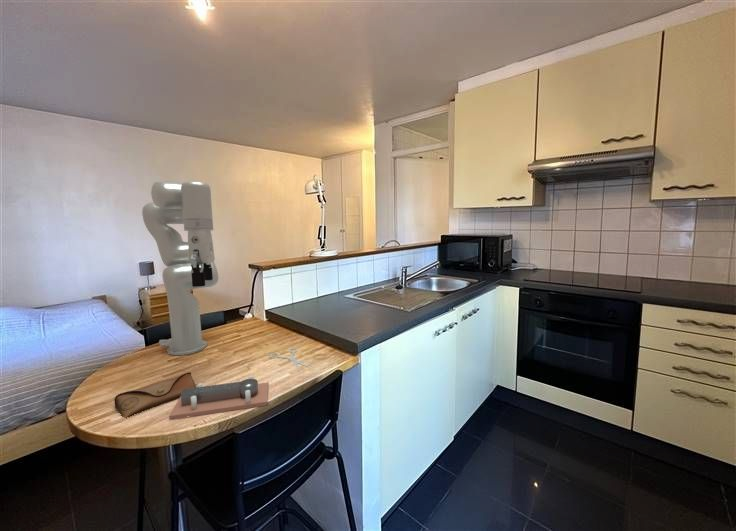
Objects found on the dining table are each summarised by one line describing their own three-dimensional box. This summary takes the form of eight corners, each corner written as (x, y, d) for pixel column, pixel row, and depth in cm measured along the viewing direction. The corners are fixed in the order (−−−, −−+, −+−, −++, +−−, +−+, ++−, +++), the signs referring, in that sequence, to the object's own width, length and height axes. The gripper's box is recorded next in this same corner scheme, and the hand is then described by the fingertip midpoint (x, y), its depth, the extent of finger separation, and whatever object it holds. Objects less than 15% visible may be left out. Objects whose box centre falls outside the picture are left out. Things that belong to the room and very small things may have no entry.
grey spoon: (180, 408, 76) (179, 397, 76) (186, 397, 81) (185, 387, 80) (257, 397, 81) (256, 386, 80) (258, 387, 85) (258, 377, 85)
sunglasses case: (121, 420, 73) (115, 392, 74) (117, 423, 77) (112, 397, 79) (202, 390, 86) (196, 367, 87) (195, 394, 90) (190, 372, 92)
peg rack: (169, 419, 73) (167, 404, 73) (182, 397, 83) (181, 383, 82) (266, 405, 79) (266, 390, 78) (268, 385, 88) (267, 372, 88)
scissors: (292, 346, 116) (321, 364, 101) (292, 348, 116) (321, 366, 101) (265, 354, 109) (291, 374, 94) (265, 356, 109) (292, 377, 94)
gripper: (205, 225, 83) (210, 288, 85) (218, 225, 100) (222, 277, 102) (174, 226, 81) (180, 289, 84) (192, 225, 98) (196, 278, 100)
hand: (203, 283), depth 93 cm, fingers open, 9 cm apart
